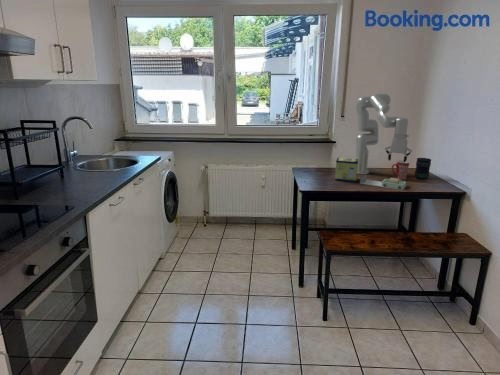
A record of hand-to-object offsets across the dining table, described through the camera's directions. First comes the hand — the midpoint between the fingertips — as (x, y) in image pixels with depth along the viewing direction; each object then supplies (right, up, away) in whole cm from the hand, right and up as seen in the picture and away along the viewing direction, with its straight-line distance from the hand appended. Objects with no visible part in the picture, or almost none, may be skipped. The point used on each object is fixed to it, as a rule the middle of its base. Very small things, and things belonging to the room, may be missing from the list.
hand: (396, 161), depth 233 cm
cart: (0, -17, +5) cm, 18 cm away
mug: (+11, -12, +23) cm, 29 cm away
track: (-6, -16, +9) cm, 20 cm away
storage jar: (+30, -11, +25) cm, 41 cm away
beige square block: (0, -16, +5) cm, 17 cm away
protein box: (-29, -12, +23) cm, 39 cm away
